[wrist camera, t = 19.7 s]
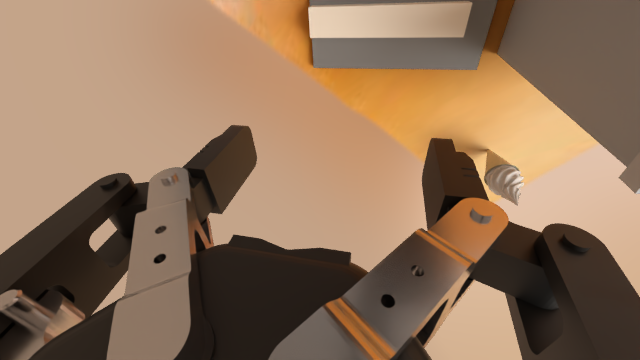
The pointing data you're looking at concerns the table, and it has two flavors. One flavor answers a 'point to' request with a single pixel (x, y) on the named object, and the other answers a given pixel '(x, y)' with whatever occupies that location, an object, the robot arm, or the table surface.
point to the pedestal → (584, 67)
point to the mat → (407, 44)
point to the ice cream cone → (503, 177)
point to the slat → (390, 20)
